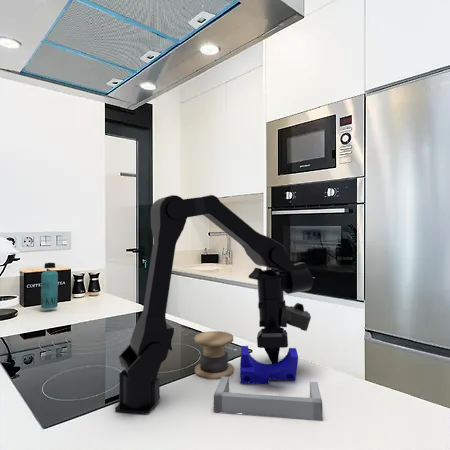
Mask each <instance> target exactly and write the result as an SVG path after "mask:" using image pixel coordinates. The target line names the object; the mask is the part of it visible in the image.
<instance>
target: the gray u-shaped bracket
mask: <svg viewBox="0 0 450 450" xmlns="http://www.w3.org/2000/svg"><path fill="white" fill-rule="evenodd" d="M322 399H323V398H322V395H321V391H320V387H319V383H318V381H309V397H301V396H300V397H299V396H288V395H287V396H286V395H285V396H284V395H273V394H272V395H271V394H257V393H254V394H253V393H241V392H230V376H228V377H225V376H222V377H221V379H219V382H218V384H217V386H216V388H215V391H214V394H213V413H218V412H223V413H222V414H232V413H242V414H241V415H245V414H251V415H250V416H258V415H260V416H259V417H270V418H271V417H274V418H287V419H296V420H297V419H298V420H312V421H323V415H324V414H323V400H322ZM224 412H226V413H224Z"/></svg>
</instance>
